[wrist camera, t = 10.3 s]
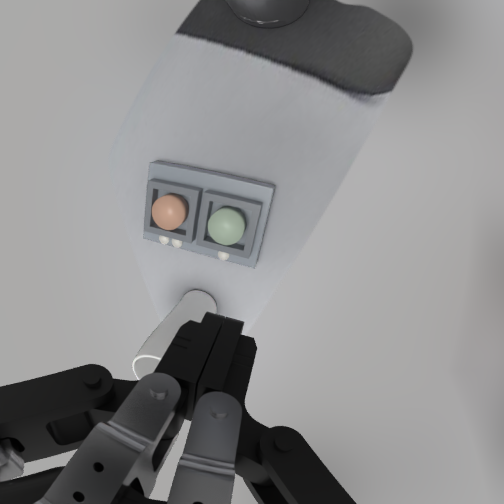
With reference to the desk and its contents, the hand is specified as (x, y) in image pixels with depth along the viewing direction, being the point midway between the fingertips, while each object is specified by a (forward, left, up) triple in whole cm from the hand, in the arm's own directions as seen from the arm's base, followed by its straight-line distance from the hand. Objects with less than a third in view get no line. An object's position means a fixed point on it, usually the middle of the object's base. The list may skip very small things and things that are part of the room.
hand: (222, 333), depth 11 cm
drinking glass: (+18, -7, -25) cm, 32 cm away
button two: (+4, -11, -23) cm, 26 cm away
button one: (+4, -4, -23) cm, 23 cm away
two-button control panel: (+4, -8, -25) cm, 27 cm away
